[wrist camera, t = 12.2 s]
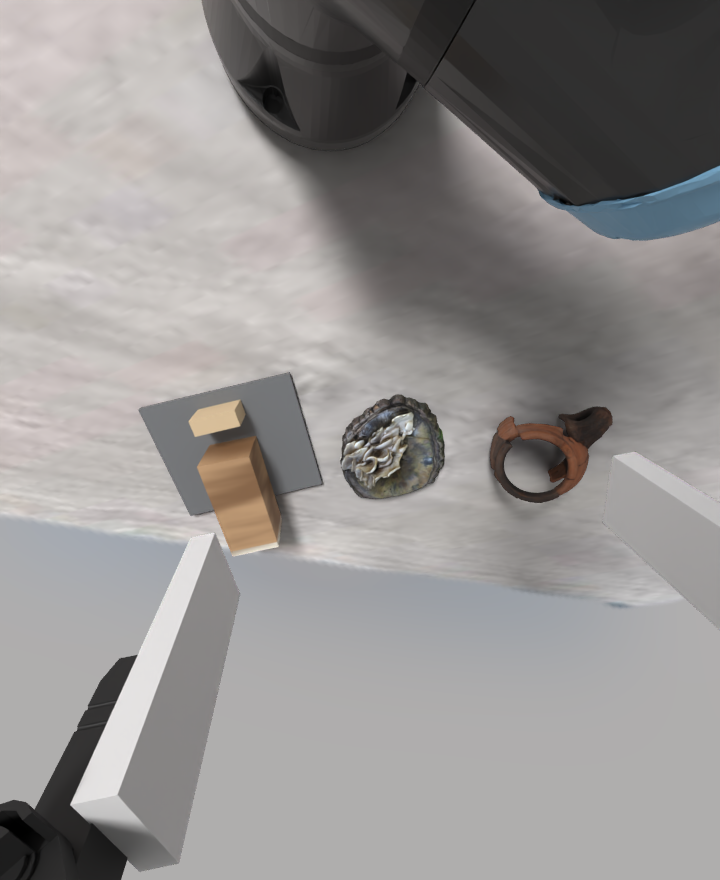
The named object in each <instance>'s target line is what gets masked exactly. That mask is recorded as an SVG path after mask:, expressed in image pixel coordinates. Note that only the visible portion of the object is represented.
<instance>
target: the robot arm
mask: <svg viewBox="0 0 720 880" xmlns="http://www.w3.org/2000/svg"><path fill="white" fill-rule="evenodd" d="M202 5H203V10H204V14H205V18H206V22H207V25H208V28H209V32H210V35H211V37H212V40H213V43H214V45H215V48H216V50H217V52H218V55H219V57H220V59H221V62H222V64H223V66H224V69H225V71H226V73H227V75H228V77H229V79H230V80H231V82H232V84H233V86H234V87H235V89H236V91H237V92H238V94H239V95H240V97H241V98H242V99H243V101H244V102H245V103H246V105H247V106H248V107H249V108H250V110H251V111H252V112H253V113H254V114H255V115H256V116H257V117H258V118H259V119H260V120H261V121H262V122H263V123H264V124H265V125H266V126H268V127H269V128H270V129H272V130H273V131H274V132H276V133H277V134H279V135H280V136H282V137H284V138H285V139H287V140H289V141H291V142H293V143H295V144H298V145H301V146H303V147H307V148H311V149H316V150H324V151H336V150H344V149H349V148H353V147H356V146H359V145H361V144H364V143H366V142H368V141H370V140H371V139H373V138H375V137H376V136H378V135H379V134H381V133H382V132H383V131H384V130H386V129H387V128H388V127H389V126H390V125H391V124H392V123H393V122H394V121H395V120H396V119H397V118H398V116H399V115H400V114H401V113H402V111H403V110H404V109H405V107H406V106H407V104H408V103H409V101H410V99H411V98H412V96H413V94H414V93H415V91H416V89H417V87H418V85H419V84H422V86H424V88H425V89H426V90H427V91H428V92H429V93H430V94H432V95H433V96H434V97H435V98H436V99H437V100H438V101H439V102H441V103H442V104H443V105H444V106H445V107H446V108H447V109H449V110H450V111H451V112H452V113H453V114H454V115H455V116H456V117H458V118H459V119H460V120H461V121H462V122H463V123H464V124H465V125H467V126H468V127H469V128H470V129H471V130H472V131H473V132H474V133H476V134H477V135H478V136H479V137H480V138H481V139H482V140H483V141H485V142H486V143H487V144H488V145H489V146H490V147H491V148H492V149H494V150H495V151H496V152H497V153H498V154H499V155H500V156H501V157H503V158H504V159H505V160H506V161H507V162H508V163H509V164H510V165H512V166H513V167H514V168H515V169H516V170H517V171H518V172H519V173H521V174H522V175H523V176H524V177H525V178H526V179H527V180H528V181H530V182H531V183H532V184H533V185H534V186H535V187H536V188H537V189H538V191H539V194H540V196H541V197H542V198H543V199H544V200H545V201H546V202H547V203H549V204H550V205H552V206H554V207H556V208H558V209H562V210H566V211H568V212H569V213H570V214H572V215H573V216H574V217H576V218H577V219H578V220H579V221H581V222H582V223H583V224H585V225H586V226H587V227H589V228H590V229H591V230H593V231H594V232H596V233H598V234H600V235H603V236H605V237H608V238H612V239H619V238H623V239H629V240H633V241H634V240H640V241H646V240H653V239H660V238H666V237H671V236H675V235H680V234H683V233H687V232H690V231H693V230H696V229H699V228H703V227H705V226H708V225H711V224H714V223H716V222H719V221H720V0H202ZM602 523H603V524H604V525H606V526H607V527H608V528H609V529H610V530H611V531H612V532H613V533H614V534H615V535H616V536H618V537H619V538H620V539H621V540H622V541H623V542H624V543H625V544H626V545H627V546H628V547H630V548H631V549H632V550H633V551H634V552H635V553H636V554H637V555H638V556H639V557H640V558H642V559H643V560H644V561H645V562H646V563H647V564H648V565H649V566H650V567H651V568H652V569H653V570H655V571H656V572H657V573H658V574H659V575H660V576H661V577H662V578H663V579H664V580H665V581H667V582H668V583H669V584H670V585H671V586H672V587H673V588H674V589H675V590H676V591H677V592H679V593H680V594H681V595H682V596H683V597H684V598H685V599H686V600H687V601H688V602H689V603H691V604H692V605H693V606H694V607H695V608H696V609H697V610H698V611H699V612H700V613H701V614H702V615H704V616H705V617H706V618H707V619H708V620H709V621H710V622H711V623H712V624H713V625H714V626H716V627H717V628H718V629H719V630H720V502H718V501H717V500H715V499H713V498H712V497H710V496H708V495H707V494H705V493H703V492H702V491H700V490H698V489H697V488H695V487H693V486H692V485H690V484H688V483H687V482H685V481H683V480H682V479H680V478H678V477H677V476H675V475H673V474H672V473H670V472H668V471H667V470H665V469H663V468H662V467H660V466H658V465H657V464H655V463H653V462H652V461H650V460H648V459H647V458H645V457H643V456H642V455H640V454H638V453H637V452H630V453H625V454H619V455H614V456H612V462H611V469H610V476H609V482H608V489H607V495H606V502H605V508H604V515H603V521H602ZM239 597H240V592H239V589H238V587H237V585H236V582H235V580H234V577H233V575H232V573H231V570H230V568H229V565H228V563H227V560H226V558H225V556H224V553H223V551H222V548H221V546H220V543H219V541H218V539H217V536H216V534H215V533H210V534H204V535H199V536H194V537H191V538H190V541H189V543H188V545H187V547H186V550H185V552H184V554H183V556H182V559H181V561H180V563H179V565H178V567H177V569H176V572H175V574H174V576H173V578H172V580H171V583H170V585H169V587H168V589H167V592H166V594H165V596H164V598H163V601H162V603H161V605H160V607H159V609H158V612H157V614H156V616H155V618H154V621H153V623H152V625H151V627H150V629H149V632H148V634H147V636H146V638H145V640H144V642H143V645H142V647H141V649H140V651H139V654H138V655H135V656H130V657H125V658H121V659H119V660H118V661H117V662H116V663H115V665H114V666H113V667H112V668H111V669H110V670H109V672H108V673H107V674H106V675H105V676H104V677H103V679H102V680H101V681H100V683H99V685H98V687H97V689H96V691H95V693H94V695H93V697H92V699H91V701H90V703H89V705H88V710H86V711H85V712H84V714H83V716H82V718H81V720H80V722H79V724H78V726H77V727H78V729H77V731H76V732H74V734H73V736H72V738H71V740H70V742H69V744H68V746H67V747H66V749H65V751H64V753H63V755H62V757H61V759H60V761H59V763H58V765H57V767H56V769H55V771H54V773H53V775H52V777H51V779H50V781H49V783H48V785H47V786H46V788H45V790H44V793H43V794H42V796H41V798H40V800H39V802H38V804H37V806H36V808H35V810H34V809H33V808H32V807H31V806H30V805H28V804H27V803H26V802H22V801H17V800H12V801H9V802H6V803H3V804H0V880H121V878H122V875H123V871H124V868H125V865H126V862H127V860H128V861H129V862H130V863H131V864H132V865H133V866H134V867H135V868H136V869H137V870H138V871H140V872H141V871H145V870H150V869H155V868H159V867H163V866H168V865H174V864H178V863H179V861H180V856H181V852H182V848H183V843H184V839H185V834H186V830H187V825H188V821H189V817H190V812H191V808H192V804H193V799H194V795H195V791H196V786H197V782H198V777H199V773H200V769H201V764H202V759H203V755H204V751H205V746H206V742H207V738H208V733H209V729H210V725H211V720H212V716H213V711H214V707H215V703H216V698H217V694H218V690H219V685H220V681H221V676H222V672H223V667H224V663H225V659H226V654H227V650H228V646H229V641H230V636H231V632H232V628H233V624H234V619H235V614H236V610H237V606H238V601H239Z"/></svg>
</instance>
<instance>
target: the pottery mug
mask: <svg viewBox="0 0 720 880" xmlns="http://www.w3.org/2000/svg"><path fill="white" fill-rule="evenodd" d="M559 418H560V419H561V420H562V421H564V422H565V427H566V431H567V434H568V437H566V436H564V435H563V428H560V427H556V426H551V425H547V424H532V423H529V424H521V425H517V426H516V425H515V424H514V418H513V417H512V416H510V417H508V418H506V419H505V420H504V421H503V422H501V423H500V424H499V427H498V428H497V430H498V433H495V435H494V437H493V440H492V445H491V451H490V462H491V468H492V469H493V470H494V475H495V477H496V478H497V480H498V481H499V482H500V484H501V485H502V487H503V488H504V489H505V490H506V491H507V492H508V493H509V494H511V495H513V496H514V497H516V498H519V499H521V500H524V501H528V502H534V503H542V502H547V501H550V500H553V499H555V498H558V497H559V496H560V495H562V494H563V493H566V492H567V491H569V490H571V489H572V488H573V487H575V486H576V485H577V484H578V482H579V481H580V480H581V479H582V477H583V475H584V473H585V471H586V468H587V465H588V459H589V454H588V448H589V447H590V446H591V445H592V444H593V443H594V442H595V441H597V440H598V439H599V438H601V437H602V435H603V434H604V433H605V432H606V431H607V429H608V428H609V426H611V425H612V422H613V421H612V415H611V412H610V411H609V410H608V409H607V408H605V407H591V408H588V409H586V410H583V411H581V412H579V413H576V414H571V415H567V414H560V415H559ZM517 437H521V439H522V440H530V439H541V440H545V441H548V442H550V443H552V444H554V445H556V446H557V447H559V448H560V449H561V450H562V452H563V453H564V455H565V457H566V458H565V459H564V461H562V462H561V463H560V464H559V465H557V466H556V467H554V468H552V469H550V470H549V471H548V473H549V476H550V481H551V482H552V483H553V482H556V481H558V480H560V479H562V478H564V480H563V481H562V482H561V483H560V484H559V485H558V486H556V487H555V488H554V489H552V490H550V491H547V492H542V493H531V492H526V491H523V490H521V489H519V488H517V487H516V486H514V485H513V484H512V483H511V482H510V481H509V479H508V478H507V476H506V474H505V471H504V460H505V457H506V454H507V452H508V451H509V450H510V449H511V448H512V444H511V443H510V441H512V440H514V439H515V438H517Z"/></svg>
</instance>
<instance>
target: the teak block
mask: <svg viewBox="0 0 720 880" xmlns="http://www.w3.org/2000/svg"><path fill="white" fill-rule="evenodd" d="M197 469H198V471H199V474H200V476H201V479H202V481H203V484H204V486H205V489H206V491H207V494H208V496H209V499H210V501H211V504H212V506H213V509H214V511H215V514H216V516H217V519H218V521H219V524H220V526H221V529H222V531H223V534H224V536H225V539H226V541H227V544H228V546H229V549H230V551H231V554H232V556H238V555H242V554H247V553H252V552H257V551H261V550H266V549H271V548H276V547H279V541H280V532H281V524H282V517H281V514H280V511H279V508H278V505H277V501H276V498H275V495H274V492H273V489H272V485H271V482H270V479H269V476H268V473H267V469H266V466H265V463H264V460H263V457H262V453H261V450H260V447H259V444H258V441H257V437H256V436H252V437H247V438H242V439H237V440H232V441H227V442H222V443H217V444H212V445H209V447H208V449H207V450H206V452H205V454H204V456H203V457H202V459H201V461H200V462H199V464H198V466H197Z"/></svg>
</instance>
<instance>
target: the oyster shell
mask: <svg viewBox="0 0 720 880" xmlns="http://www.w3.org/2000/svg"><path fill="white" fill-rule="evenodd" d="M342 441H343V446H342V459H341V468H342V470H343V473H344V477H345V479H346V481H347V482H348V483H349V485H350V487H351V488H353V490H354V492H355V493H356V494H357V495H358V496H360V497H365V498H372V499H373V498H375V499H382V498H387V497H392V496H399V495H403V494H407V493H409V492H412V491H415V490H417V489H419V488H422V487H424V486H426V485H427V484H429V483H433V482H434V480H435V477H436V476H437V475H438V473H439V469H441V468H442V466H443V465H444V457H445V456H444V445H445V444H444V440H443V434H442V430H441V429H440V428H439V425H438V423H437V418H436V415H434V414H432V413H431V410H430V409H429V407H428V405H427V404H426V403H418V402H417V401H416V400H415V399H412V398H405V397H404V396H403V395H399V394H397V395H395V396H393V397H392V398H391V399H390V400H386V399H382V400H380V401H377V403H376V404H375V405H374V406H373V407H371V408H368V409H366V410H365V411H364V413H363V414H362V415H360V416H359V417H357V418H355V419H354V420H353V421H352V423H350V424H349V426H348V427H346V432H345V434H344V435H343V437H342Z"/></svg>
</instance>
